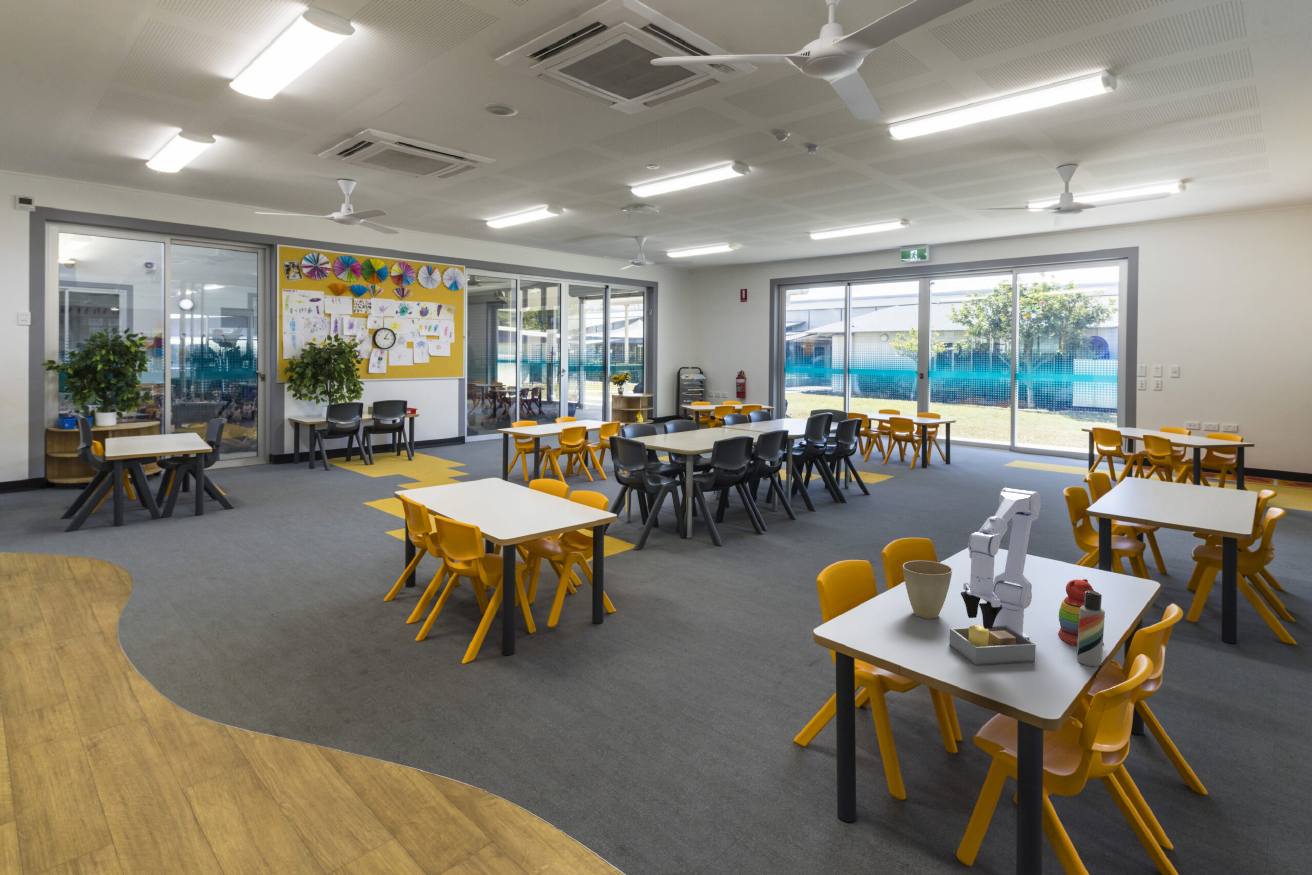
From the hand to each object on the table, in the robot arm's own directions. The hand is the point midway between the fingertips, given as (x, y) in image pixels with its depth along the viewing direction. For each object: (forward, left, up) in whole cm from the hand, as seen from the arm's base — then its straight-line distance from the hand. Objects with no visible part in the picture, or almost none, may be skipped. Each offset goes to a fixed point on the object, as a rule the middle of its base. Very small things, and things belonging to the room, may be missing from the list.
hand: (979, 622), depth 187 cm
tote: (-1, +4, -9) cm, 10 cm away
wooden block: (0, +7, -9) cm, 11 cm away
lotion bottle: (+8, +27, -10) cm, 30 cm away
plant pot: (-30, 0, -10) cm, 31 cm away
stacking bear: (-7, +35, -10) cm, 37 cm away
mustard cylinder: (0, 0, -9) cm, 9 cm away
